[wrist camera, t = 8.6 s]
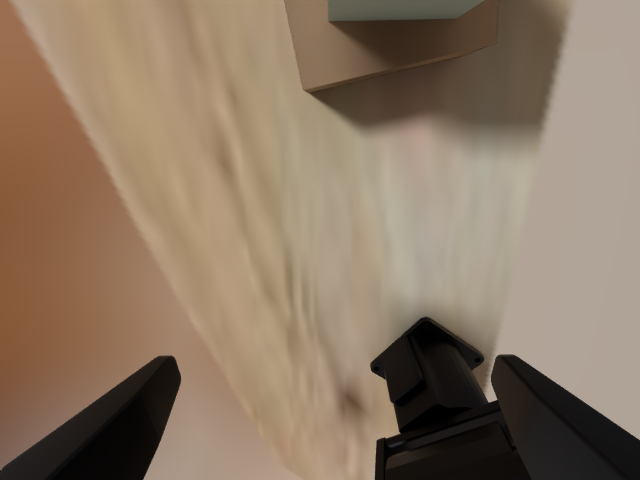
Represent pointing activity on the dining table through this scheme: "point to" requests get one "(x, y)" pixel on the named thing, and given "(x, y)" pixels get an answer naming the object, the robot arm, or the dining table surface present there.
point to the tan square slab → (380, 42)
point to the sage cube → (397, 9)
